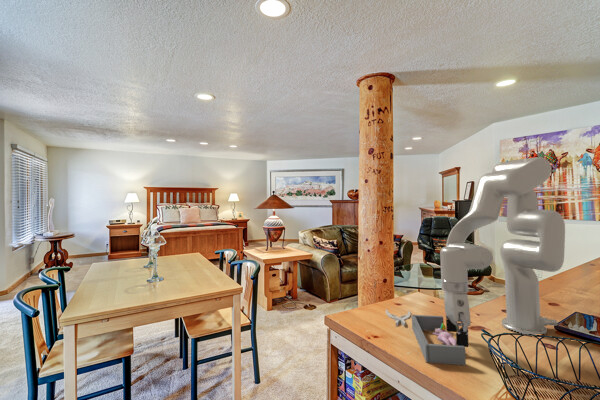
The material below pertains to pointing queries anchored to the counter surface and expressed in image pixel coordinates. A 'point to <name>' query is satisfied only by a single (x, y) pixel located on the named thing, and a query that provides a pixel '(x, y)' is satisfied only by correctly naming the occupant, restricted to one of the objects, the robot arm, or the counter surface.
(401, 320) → the pliers
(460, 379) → the counter surface
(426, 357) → the box
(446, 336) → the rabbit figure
